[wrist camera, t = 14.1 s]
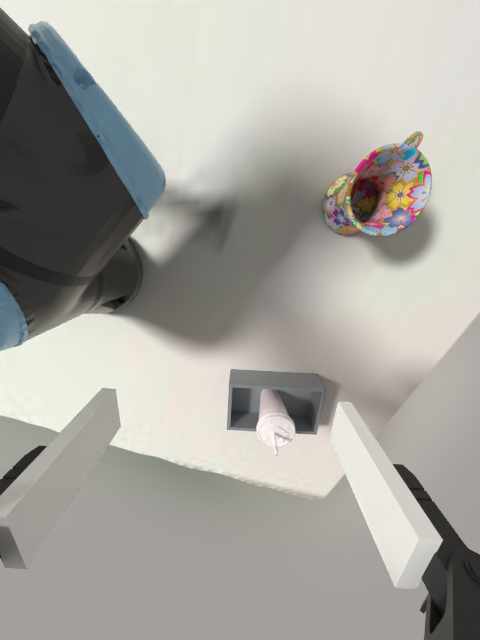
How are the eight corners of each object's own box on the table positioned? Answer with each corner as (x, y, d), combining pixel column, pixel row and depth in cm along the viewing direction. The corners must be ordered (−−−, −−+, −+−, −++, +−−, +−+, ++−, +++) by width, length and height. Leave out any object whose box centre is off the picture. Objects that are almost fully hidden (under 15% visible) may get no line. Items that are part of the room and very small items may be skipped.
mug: (353, 248, 38) (393, 251, 28) (306, 218, 37) (330, 210, 27) (404, 174, 34) (470, 147, 24) (353, 138, 33) (402, 94, 23)
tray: (228, 411, 49) (227, 429, 44) (230, 369, 46) (229, 384, 41) (309, 415, 49) (316, 434, 44) (317, 374, 46) (325, 389, 41)
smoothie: (257, 378, 46) (263, 435, 32) (289, 384, 46) (308, 442, 33) (251, 405, 48) (254, 468, 34) (281, 410, 48) (295, 474, 35)
